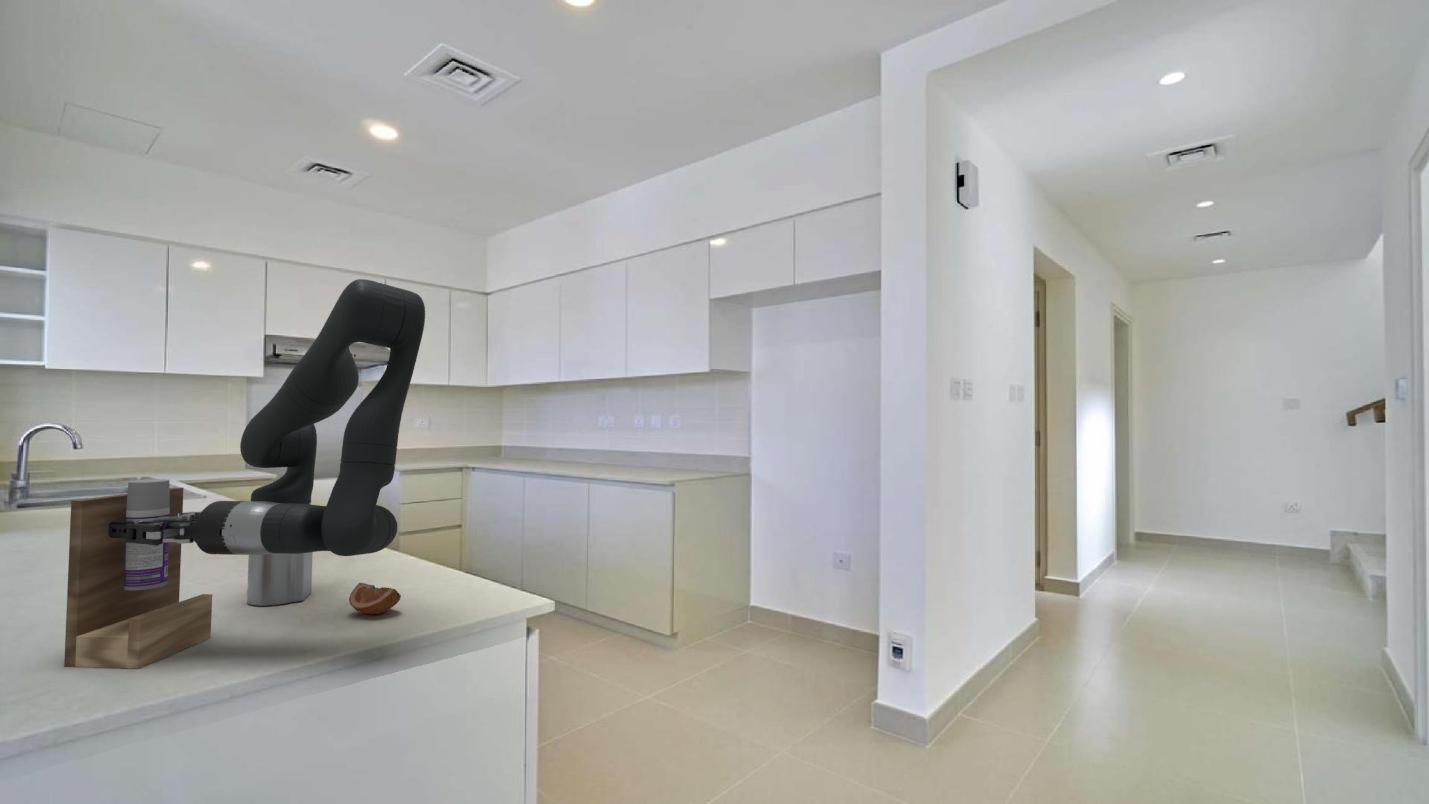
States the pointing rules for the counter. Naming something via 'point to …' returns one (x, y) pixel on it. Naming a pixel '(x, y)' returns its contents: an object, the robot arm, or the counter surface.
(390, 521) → the robot arm
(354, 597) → the fruit slice
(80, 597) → the board
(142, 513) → the container
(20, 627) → the counter surface
